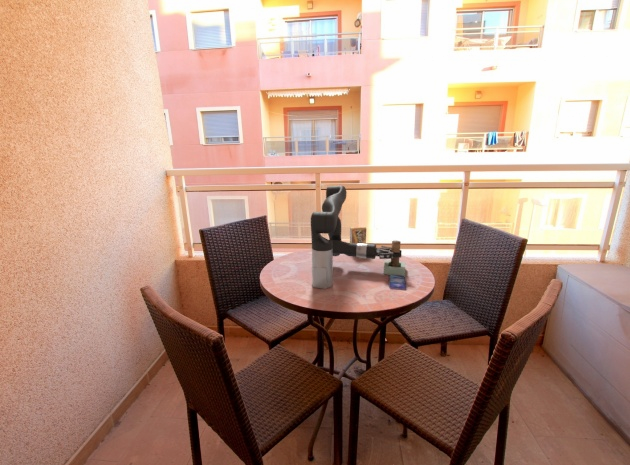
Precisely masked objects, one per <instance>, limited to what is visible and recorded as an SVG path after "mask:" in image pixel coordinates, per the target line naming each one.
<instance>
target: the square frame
mask: <svg viewBox="0 0 630 465" xmlns="http://www.w3.org/2000/svg"><path fill="white" fill-rule="evenodd" d="M391 274H392V275H401V276H405V277H406V262H405V261H399V267H391V260H388V259H384V264H383V275H391Z"/></svg>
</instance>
